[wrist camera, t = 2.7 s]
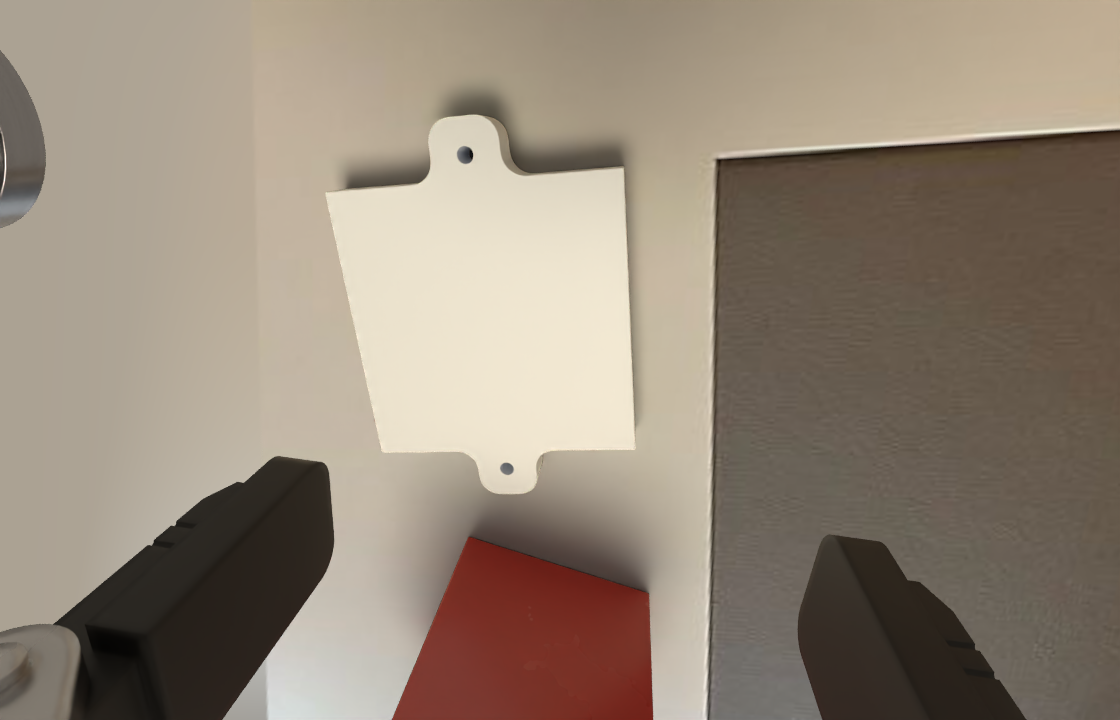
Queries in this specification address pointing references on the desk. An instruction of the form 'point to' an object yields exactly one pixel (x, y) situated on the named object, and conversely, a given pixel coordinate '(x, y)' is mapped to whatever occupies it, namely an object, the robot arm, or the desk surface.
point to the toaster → (531, 645)
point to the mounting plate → (491, 306)
